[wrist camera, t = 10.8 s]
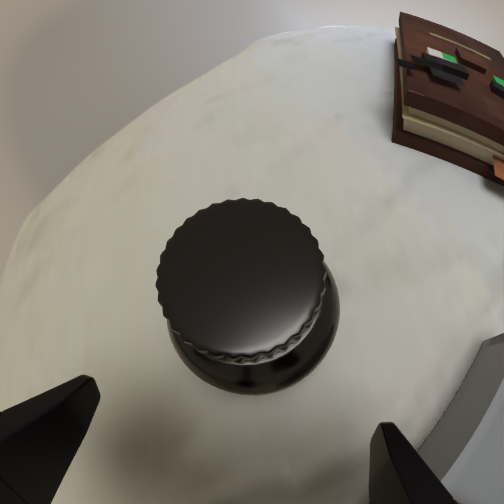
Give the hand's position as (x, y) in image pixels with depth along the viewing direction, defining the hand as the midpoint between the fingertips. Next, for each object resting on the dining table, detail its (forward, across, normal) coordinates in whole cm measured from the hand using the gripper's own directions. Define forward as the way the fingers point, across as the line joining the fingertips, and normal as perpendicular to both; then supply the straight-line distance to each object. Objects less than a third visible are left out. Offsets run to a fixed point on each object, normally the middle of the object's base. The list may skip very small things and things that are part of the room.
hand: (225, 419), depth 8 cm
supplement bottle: (+10, 0, +5) cm, 11 cm away
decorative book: (+32, -21, -16) cm, 41 cm away
